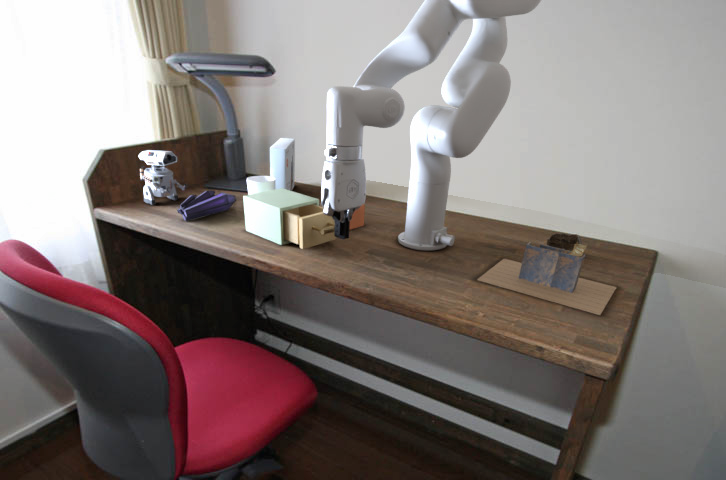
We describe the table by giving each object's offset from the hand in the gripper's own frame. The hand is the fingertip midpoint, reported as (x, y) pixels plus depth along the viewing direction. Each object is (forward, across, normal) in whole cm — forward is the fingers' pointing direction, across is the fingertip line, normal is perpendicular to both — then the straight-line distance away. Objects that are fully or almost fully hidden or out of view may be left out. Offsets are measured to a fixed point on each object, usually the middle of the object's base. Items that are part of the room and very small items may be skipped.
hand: (341, 237), depth 108 cm
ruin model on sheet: (+4, +21, -41) cm, 46 cm away
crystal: (+5, -4, +48) cm, 48 cm away
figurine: (+5, -8, +66) cm, 66 cm away
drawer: (+4, 0, +12) cm, 12 cm away
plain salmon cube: (+4, +18, +14) cm, 24 cm away
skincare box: (+5, +27, +52) cm, 59 cm away
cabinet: (+5, 0, +22) cm, 22 cm away
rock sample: (+4, +44, -36) cm, 57 cm away
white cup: (+5, +7, +38) cm, 38 cm away
